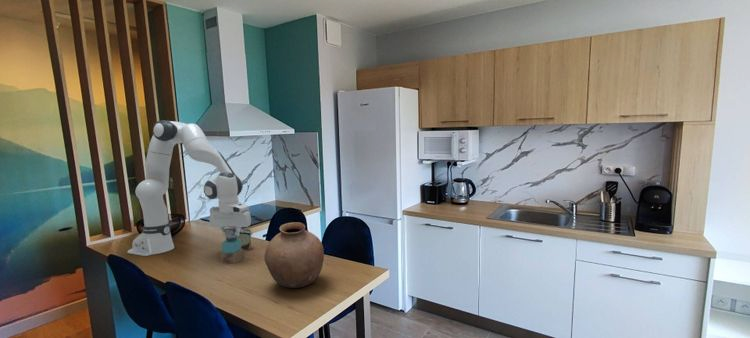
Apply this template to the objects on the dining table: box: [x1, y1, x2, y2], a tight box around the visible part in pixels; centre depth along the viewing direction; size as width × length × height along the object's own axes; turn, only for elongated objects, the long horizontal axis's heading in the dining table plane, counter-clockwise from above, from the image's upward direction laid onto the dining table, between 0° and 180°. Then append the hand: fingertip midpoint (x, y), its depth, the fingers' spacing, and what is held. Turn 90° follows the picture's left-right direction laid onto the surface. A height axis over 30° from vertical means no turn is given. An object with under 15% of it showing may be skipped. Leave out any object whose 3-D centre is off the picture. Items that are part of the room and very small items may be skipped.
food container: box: [236, 228, 253, 251], centre depth 190 cm, size 12×6×10 cm, turn 84°
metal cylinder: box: [224, 227, 237, 241], centre depth 172 cm, size 5×5×5 cm
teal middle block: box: [221, 239, 241, 253], centre depth 172 cm, size 6×6×5 cm
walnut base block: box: [220, 249, 244, 265], centre depth 173 cm, size 7×7×5 cm
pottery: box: [264, 221, 325, 289], centre depth 143 cm, size 23×23×25 cm
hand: (231, 235), depth 172 cm, fingers open, 5 cm apart
